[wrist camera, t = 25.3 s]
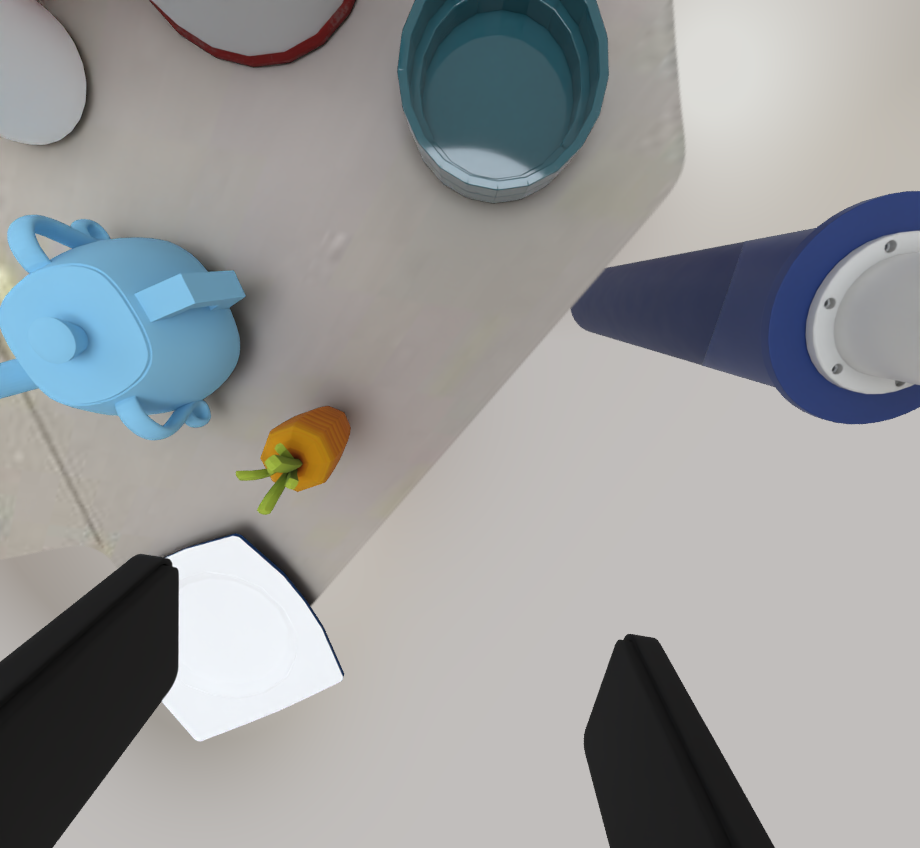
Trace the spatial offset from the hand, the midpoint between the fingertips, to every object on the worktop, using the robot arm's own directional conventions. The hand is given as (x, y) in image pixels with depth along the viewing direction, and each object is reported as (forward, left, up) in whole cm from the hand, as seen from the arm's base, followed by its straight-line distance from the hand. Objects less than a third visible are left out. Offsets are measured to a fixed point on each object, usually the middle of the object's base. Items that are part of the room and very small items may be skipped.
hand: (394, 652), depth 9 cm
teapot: (+24, 0, -31) cm, 39 cm away
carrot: (+9, +5, -31) cm, 32 cm away
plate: (+18, +30, -30) cm, 46 cm away
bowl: (0, -21, -30) cm, 37 cm away
